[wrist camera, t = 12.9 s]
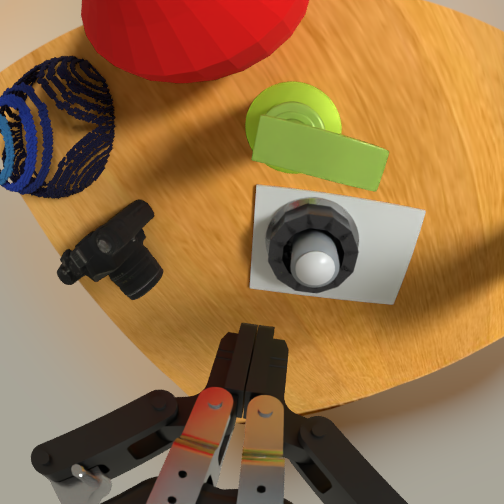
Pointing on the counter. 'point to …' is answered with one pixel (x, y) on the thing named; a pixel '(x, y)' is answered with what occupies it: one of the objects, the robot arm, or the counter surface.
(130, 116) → the counter surface
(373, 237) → the mat
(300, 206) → the black faceted bowl
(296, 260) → the cap
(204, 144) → the counter surface
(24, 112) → the decorative bowl
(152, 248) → the counter surface
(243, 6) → the vase
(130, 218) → the camera
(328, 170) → the soap dispenser
